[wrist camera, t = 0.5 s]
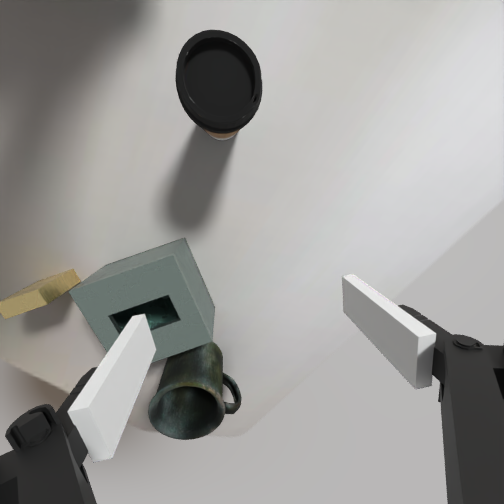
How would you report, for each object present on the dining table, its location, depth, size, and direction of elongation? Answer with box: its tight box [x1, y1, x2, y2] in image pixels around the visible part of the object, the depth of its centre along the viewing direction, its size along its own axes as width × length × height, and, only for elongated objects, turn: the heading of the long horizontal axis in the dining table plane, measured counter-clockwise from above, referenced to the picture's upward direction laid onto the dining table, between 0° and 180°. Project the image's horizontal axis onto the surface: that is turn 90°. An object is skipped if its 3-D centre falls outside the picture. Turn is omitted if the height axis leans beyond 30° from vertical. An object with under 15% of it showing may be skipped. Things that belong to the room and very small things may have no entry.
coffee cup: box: [176, 30, 262, 140], centre depth 29 cm, size 8×8×15 cm
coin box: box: [68, 238, 215, 363], centre depth 37 cm, size 14×14×10 cm
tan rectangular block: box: [0, 269, 81, 319], centre depth 36 cm, size 2×6×8 cm, turn 108°
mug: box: [148, 342, 241, 440], centre depth 42 cm, size 11×15×12 cm
